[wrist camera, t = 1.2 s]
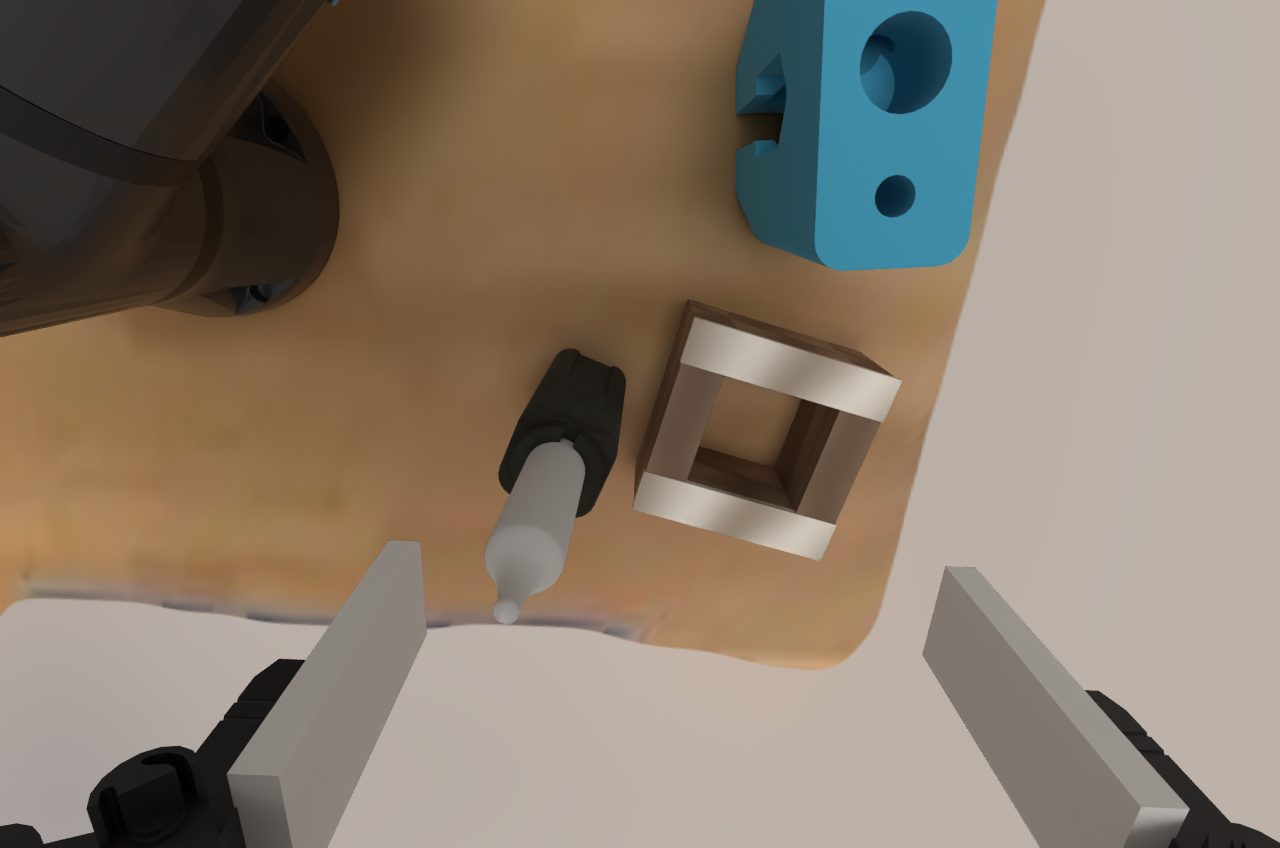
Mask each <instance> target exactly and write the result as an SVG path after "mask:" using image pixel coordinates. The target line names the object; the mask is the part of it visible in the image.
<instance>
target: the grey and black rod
mask: <svg viewBox="0 0 1280 848" xmlns="http://www.w3.org/2000/svg"><path fill="white" fill-rule="evenodd" d="M625 386H626V380H625V376H624V374H623V372H622V371H621V370H620V369H619V368H617V367H615V366H613V367H609V366H606V365H604V364H602V363H599V362H597V361H595V360H592V359H590V358H588V357H585V356H583V355H581V354H580V353H579V351H578V350H575V349H566V350H563V351H561V352H560V353H559V354H558V355H557V356H556V357H555V359H554V361H553V362H552V364H551V366H550V368H549V369H548V371H547V373H546V374H545V376H544V378H543V379H542V381H541V383H540V385H539V386H538V388H537V390H536V391H535V393H534V395H533V396H532V398H531V400H530V402H529V403H528V405H527V407H526V408H525V410H524V412H523V414H522V415H521V417H520V419H519V420H518V423H517V425H516V428H515V430H514V433H513V435H512V438H511V440H510V443H509V445H508V448H507V450H506V453H505V455H504V458H503V460H502V463H501V465H500V468H499V472H498V475H499V481H500V484H501V486H502V487H503V489H504V490H505V491H506V492H507V493H509V494H510V496H509V498H508V500H507V502H506V504H505V506H504V508H503V511H502V513H501V515H500V517H499V519H498V521H497V523H496V526H495V528H494V530H493V532H492V534H491V536H490V538H489V540H488V543H487V546H486V550H485V565H486V568H487V571H488V573H489V575H490V576H491V577H492V579H493V580H494V581H495V583H496V584H497V592H498V600H499V601H498V602H496V604H495V605H494V608H493V614H494V617H495V619H496V620H497V621H499V622H500V623H503V624H510V623H513V622H514V621H515V620H517V618H518V617H519V614H520V606H521V605H522V604H523V603H524V602H525V601H526V600H527V599H528V598H529V597H530V596H531V595H532V594H536V593H540V592H542V591H544V590H546V589H548V588H549V587H551V586H552V585H553V584H554V583H555V582H556V581H557V579H558V578H559V576H560V575H561V573H562V571H563V567H564V564H565V560H566V555H567V551H568V547H569V542H570V538H571V533H572V529H573V525H574V520H575V518H577V517H582V516H584V515H586V514H587V513H588V512H589V511H591V509H592V508H593V506H594V505H595V503H596V500H597V498H598V496H599V494H600V492H601V490H602V488H603V486H604V483H605V481H606V479H607V477H608V475H609V473H610V471H611V468H612V466H613V464H614V462H615V460H616V456H617V451H618V443H619V435H620V426H621V418H622V410H623V402H624V394H625Z"/></svg>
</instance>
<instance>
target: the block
mask: <svg viewBox="0 0 1280 848" xmlns="http://www.w3.org/2000/svg"><path fill="white" fill-rule="evenodd" d="M996 8H997V0H754V4H753V7H752V11H751V15H750V19H749V23H748V26H747V30H746V34H745V38H744V42H743V45H742V49H741V53H740V57H739V60H738V64H737V69H736V114H753V113H772V112H777V113H781V114H783V115H784V117H783V122H782V128H781V133H780V138H779V144H777V143H776V142H775V141H774V140H760V141H754V142H752V143H751V144H749V145H747V146H745V147H743V148H741V149H740V150H738V151H736V196H737V199H738V201H739V203H740V205H741V207H742V210H743V212H744V214H745V216H746V218H747V220H748V223H749V225H750V227H751V229H752V231H753V233H754V235H755V237H756V238H757V239H758V240H759V241H761V242H763V243H765V244H768V245H771V246H773V247H776V248H779V249H781V250H784V251H787V252H789V253H792V254H795V255H797V256H800V257H803V258H805V259H808V260H811V261H813V262H816V263H819V264H821V265H824V266H827V267H829V268H832V269H835V270H842V271H848V270H869V269H891V268H912V267H934V266H940V265H944V264H947V263H949V262H951V261H952V260H954V259H955V258H956V257H958V256H959V254H960V253H961V252H962V251H963V250H964V248H965V246H966V244H967V242H968V238H969V234H970V226H971V218H972V209H973V201H974V193H975V184H976V176H977V168H978V159H979V151H980V142H981V134H982V126H983V117H984V109H985V100H986V92H987V84H988V75H989V67H990V58H991V50H992V42H993V33H994V25H995V16H996Z"/></svg>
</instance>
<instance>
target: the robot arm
mask: <svg viewBox="0 0 1280 848" xmlns="http://www.w3.org/2000/svg"><path fill="white" fill-rule="evenodd" d="M339 1H340V0H0V337H5V336H9V335H14V334H19V333H23V332H28V331H32V330H37V329H41V328H46V327H51V326H55V325H60V324H64V323H69V322H73V321H78V320H82V319H87V318H92V317H96V316H101V315H105V314H110V313H114V312H119V311H124V310H128V309H133V308H137V307H142V306H147V305H150V306H155V307H160V308H165V309H170V310H174V311H179V312H184V313H189V314H194V315H200V316H208V317H234V316H242V315H247V314H251V313H255V312H258V311H262V310H266V309H269V308H272V307H275V306H278V305H281V304H283V303H285V302H287V301H289V300H291V299H292V298H294V297H296V296H297V295H298V294H300V293H301V292H302V291H304V290H305V289H306V288H307V287H308V286H309V285H310V284H311V283H312V282H313V281H314V280H315V278H316V277H317V276H318V275H319V273H320V272H321V270H322V269H323V267H324V265H325V263H326V262H327V260H328V257H329V255H330V253H331V250H332V247H333V244H334V241H335V237H336V232H337V225H338V194H337V187H336V181H335V177H334V173H333V169H332V166H331V163H330V160H329V157H328V155H327V152H326V150H325V148H324V146H323V144H322V141H321V139H320V138H319V136H318V134H317V132H316V130H315V129H314V127H313V126H312V124H311V123H310V121H309V120H308V118H307V117H306V116H305V114H304V113H303V112H302V110H301V109H300V108H299V107H298V106H297V104H296V103H295V102H294V101H293V100H292V99H291V98H290V97H289V96H288V95H287V94H286V93H285V92H284V91H283V90H282V89H281V88H279V87H278V86H277V85H276V84H275V83H273V82H272V81H271V80H269V79H270V77H271V76H272V75H273V73H274V72H275V71H276V70H277V68H278V67H279V66H280V64H281V63H282V62H283V60H284V59H285V58H286V57H287V55H288V54H289V53H290V51H291V50H292V49H293V48H294V46H295V45H296V44H297V42H298V41H299V40H300V38H301V37H302V36H303V35H304V33H305V32H306V31H307V29H308V28H309V27H310V26H311V24H312V23H313V22H314V20H315V19H316V18H317V17H318V15H319V14H320V13H321V11H322V10H323V9H324V7H325V6H326V5H327V4H328V3H329V4H330V5H331V6H333V7H334V6H335V5H337V3H338V2H339ZM426 634H427V629H426V615H425V602H424V588H423V575H422V561H421V547H420V542H408V541H388V542H387V544H386V545H385V547H384V548H383V550H382V551H381V553H380V554H379V555H378V557H377V558H376V560H375V561H374V563H373V564H372V565H371V567H370V568H369V570H368V571H367V573H366V574H365V576H364V577H363V578H362V580H361V581H360V583H359V584H358V586H357V587H356V589H355V590H354V591H353V593H352V594H351V596H350V597H349V599H348V600H347V601H346V603H345V604H344V606H343V607H342V609H341V610H340V612H339V613H338V614H337V616H336V617H335V619H334V620H333V622H332V623H331V624H330V626H329V627H328V629H327V630H326V632H325V633H324V635H323V636H322V638H321V639H320V640H319V642H318V643H317V645H316V646H315V648H314V649H313V650H312V652H311V653H310V655H309V656H308V658H307V659H306V660H294V659H293V660H292V659H278V660H277V661H275V662H274V663H273V664H271V665H270V666H269V667H267V668H266V669H265V670H263V671H262V672H260V673H259V674H258V675H256V676H255V677H254V678H253V679H252V681H251V682H250V683H249V684H248V686H247V687H246V688H245V690H244V691H243V692H242V693H241V695H240V696H239V698H238V701H237V703H234V704H233V705H232V706H231V708H230V709H229V710H228V712H227V713H226V714H225V715H224V719H223V721H220V722H219V723H218V724H217V726H216V727H215V728H214V730H213V731H212V732H211V733H210V735H209V736H208V737H207V739H206V740H205V741H204V743H203V744H202V745H201V746H200V748H199V749H198V750H197V752H196V753H194V751H193V750H190V749H187V748H184V747H181V746H170V747H159V748H156V749H153V750H150V751H146V752H143V753H140V754H138V755H136V756H134V757H133V758H130V759H129V760H127V761H125V762H123V763H121V764H120V765H118V766H117V767H116V768H114V769H113V770H112V771H111V772H109V773H108V774H107V775H106V776H105V777H103V778H102V779H101V781H100V782H99V783H98V784H97V786H96V787H95V788H94V790H93V791H92V792H91V794H90V797H89V801H88V805H87V811H88V815H89V817H90V820H91V823H92V826H93V829H94V832H93V833H88V834H85V835H80V836H76V837H72V838H67V839H63V840H59V841H55V842H50V843H46V844H43V841H42V839H41V836H40V834H39V833H38V832H37V831H36V830H35V829H34V828H33V826H28V825H22V824H17V823H16V824H11V825H5V826H0V848H327V847H328V845H329V843H330V841H331V839H332V837H333V834H334V832H335V830H336V828H337V826H338V824H339V821H340V819H341V817H342V815H343V813H344V811H345V808H346V806H347V804H348V802H349V800H350V798H351V796H352V793H353V791H354V789H355V787H356V785H357V783H358V781H359V778H360V776H361V774H362V772H363V770H364V768H365V765H366V763H367V761H368V759H369V757H370V755H371V753H372V751H373V748H374V746H375V744H376V742H377V740H378V737H379V736H380V733H381V731H382V729H383V727H384V725H385V723H386V720H387V718H388V716H389V714H390V712H391V710H392V708H393V705H394V703H395V701H396V699H397V697H398V695H399V693H400V690H401V688H402V686H403V684H404V682H405V680H406V678H407V675H408V673H409V671H410V669H411V667H412V665H413V662H414V660H415V658H416V656H417V654H418V652H419V649H420V647H421V645H422V643H423V641H424V639H425V637H426ZM922 655H923V657H924V658H925V660H926V662H927V663H928V665H929V666H930V668H931V670H932V671H933V673H934V675H935V676H936V678H937V679H938V681H939V683H940V685H941V686H942V688H943V689H944V691H945V693H946V694H947V696H948V698H949V699H950V701H951V702H952V704H953V706H954V708H955V709H956V711H957V712H958V714H959V716H960V717H961V719H962V721H963V722H964V724H965V725H966V727H967V729H968V730H969V732H970V734H971V735H972V737H973V739H974V740H975V742H976V744H977V745H978V747H979V749H980V750H981V752H982V753H983V755H984V757H985V758H986V760H987V762H988V763H989V765H990V767H991V768H992V770H993V771H994V773H995V775H996V776H997V778H998V780H999V781H1000V783H1001V784H1002V786H1003V788H1004V790H1005V791H1006V793H1007V794H1008V796H1009V798H1010V799H1011V801H1012V803H1013V804H1014V806H1015V808H1016V809H1017V811H1018V812H1019V814H1020V816H1021V817H1022V819H1023V821H1024V822H1025V824H1026V825H1027V827H1028V829H1029V831H1030V832H1031V834H1032V835H1033V837H1034V839H1035V840H1036V842H1037V844H1038V845H1039V847H1040V848H1280V843H1279V842H1277V841H1275V840H1274V839H1272V838H1270V837H1269V836H1267V835H1265V834H1263V833H1262V832H1260V831H1257V830H1255V829H1252V828H1249V827H1247V826H1244V825H1241V824H1236V823H1231V822H1230V821H1229V820H1228V819H1227V818H1226V817H1225V816H1224V815H1223V814H1222V813H1221V812H1220V810H1218V808H1217V807H1216V806H1215V805H1214V804H1213V803H1212V802H1211V801H1210V800H1209V799H1208V798H1207V797H1206V795H1205V794H1204V793H1203V792H1202V791H1201V790H1200V789H1199V788H1198V787H1197V786H1196V785H1195V784H1194V783H1193V782H1192V780H1191V779H1190V778H1189V777H1188V776H1187V775H1186V774H1185V773H1184V772H1183V771H1182V770H1181V769H1180V768H1179V766H1178V765H1177V764H1176V763H1175V762H1174V761H1173V760H1172V759H1171V758H1170V757H1169V756H1168V755H1165V754H1164V750H1163V749H1162V748H1161V747H1160V746H1159V745H1158V744H1157V743H1156V742H1155V741H1154V740H1153V739H1152V738H1151V737H1148V736H1147V732H1146V731H1145V730H1144V729H1143V728H1142V727H1141V726H1140V725H1139V724H1138V723H1137V721H1136V720H1135V719H1134V718H1133V717H1132V716H1131V715H1130V714H1129V713H1128V712H1127V711H1126V710H1125V709H1123V708H1122V707H1121V706H1119V705H1118V704H1116V703H1115V702H1114V701H1112V700H1111V699H1109V698H1108V697H1106V696H1105V695H1103V694H1102V693H1101V692H1099V691H1089V690H1084V689H1083V688H1082V687H1081V686H1080V685H1079V684H1078V682H1077V681H1076V680H1075V679H1074V678H1073V677H1072V676H1071V675H1070V673H1069V672H1068V671H1067V670H1066V669H1065V668H1064V667H1063V666H1062V665H1061V663H1060V662H1059V661H1058V660H1057V659H1056V658H1055V657H1054V655H1053V654H1052V653H1051V652H1050V651H1049V650H1048V649H1047V648H1046V647H1045V645H1044V644H1043V643H1042V642H1041V641H1040V640H1039V639H1038V637H1037V636H1036V635H1035V634H1034V633H1033V632H1032V631H1031V630H1030V628H1029V627H1027V625H1026V624H1025V623H1024V622H1023V621H1022V620H1021V618H1020V617H1019V616H1018V615H1017V614H1016V613H1015V612H1014V610H1013V609H1012V608H1011V607H1010V606H1009V605H1008V604H1007V603H1006V602H1005V600H1004V599H1003V598H1002V597H1001V596H1000V595H999V593H998V592H996V590H995V589H994V588H993V587H992V586H991V584H990V583H989V582H988V581H987V580H986V579H985V578H984V577H983V576H982V574H981V573H980V572H979V571H978V570H977V569H976V568H974V567H952V566H946V567H945V570H944V574H943V578H942V581H941V585H940V590H939V593H938V597H937V601H936V604H935V608H934V613H933V616H932V620H931V624H930V628H929V631H928V635H927V639H926V643H925V647H924V650H923V654H922Z"/></svg>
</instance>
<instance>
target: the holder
mask: <svg viewBox="0 0 1280 848" xmlns="http://www.w3.org/2000/svg"><path fill="white" fill-rule="evenodd" d="M724 376H728V377H731V378H734V379H738V380H741V381H744V382H748V383H751V384H755V385H758V386H761V387H765V388H768V389H771V390H775V391H778V392H781V393H785V394H788V395H792V396H795V397H798V398H802V401H801V403H800V406H799V408H798V411H797V413H796V416H795V418H794V421H793V423H792V425H791V428H790V430H789V433H788V435H787V438H786V440H785V443H784V445H783V448H782V450H781V453H780V455H779V458H778V460H777V463H776V465H775V468H772V467H769V466H765V465H762V464H758V463H755V462H751V461H748V460H744V459H741V458H737V457H734V456H730V455H727V454H723V453H720V452H716V451H713V450H709V449H706V448H702V447H699V444H700V441H701V439H702V436H703V433H704V430H705V427H706V425H707V422H708V419H709V416H710V413H711V411H712V408H713V405H714V402H715V399H716V396H717V394H718V391H719V388H720V385H721V382H722V380H723V377H724ZM901 383H902V380H901V379H899V378H896V377H894V376H893V375H891V374H890V373H888V372H887V371H886V370H884V369H883V368H881V367H880V366H879V365H877V364H876V363H875V362H873V361H872V360H870V359H869V358H868V357H866V356H865V355H863V354H862V353H861V352H858V351H854V350H851V349H848V348H845V347H841V346H838V345H835V344H832V343H828V342H825V341H822V340H819V339H815V338H812V337H809V336H805V335H802V334H799V333H796V332H792V331H789V330H786V329H783V328H779V327H776V326H773V325H770V324H766V323H763V322H760V321H757V320H753V319H750V318H747V317H743V316H740V315H737V314H734V313H730V312H727V311H724V310H721V309H717V308H714V307H711V306H708V305H704V304H701V303H698V302H694V301H691V300H688V303H687V306H686V309H685V312H684V315H683V318H682V321H681V325H680V328H679V331H678V334H677V337H676V340H675V343H674V346H673V349H672V352H671V355H670V359H669V362H668V365H667V368H666V371H665V374H664V377H663V380H662V383H661V386H660V390H659V393H658V396H657V399H656V402H655V405H654V408H653V411H652V414H651V417H650V420H649V424H648V427H647V430H646V433H645V436H644V439H643V442H642V445H641V448H640V451H639V455H638V458H637V461H636V468H635V488H634V501H633V504H632V509H633V510H636V511H640V512H644V513H647V514H651V515H655V516H658V517H662V518H665V519H669V520H673V521H676V522H680V523H684V524H687V525H691V526H694V527H698V528H702V529H705V530H709V531H713V532H716V533H720V534H724V535H727V536H731V537H734V538H738V539H742V540H745V541H749V542H753V543H756V544H760V545H764V546H767V547H771V548H774V549H778V550H782V551H785V552H789V553H793V554H796V555H800V556H804V557H807V558H811V559H814V560H818V561H821V559H822V557H823V554H824V552H825V550H826V548H827V546H828V543H829V541H830V539H831V537H832V535H833V532H834V530H835V528H836V526H837V525H836V523H835V522H836V520H837V518H838V516H839V513H840V511H841V509H842V507H843V505H844V502H845V500H846V498H847V496H848V494H849V491H850V489H851V487H852V485H853V483H854V480H855V478H856V476H857V474H858V471H859V469H860V467H861V465H862V463H863V460H864V458H865V456H866V454H867V452H868V449H869V447H870V445H871V443H872V441H873V438H874V436H875V434H876V432H877V429H878V427H879V425H880V423H881V422H882V423H883V422H884V420H885V418H886V416H887V413H888V411H889V409H890V407H891V405H892V402H893V400H894V398H895V396H896V394H897V391H898V389H899V387H900V385H901Z"/></svg>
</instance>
